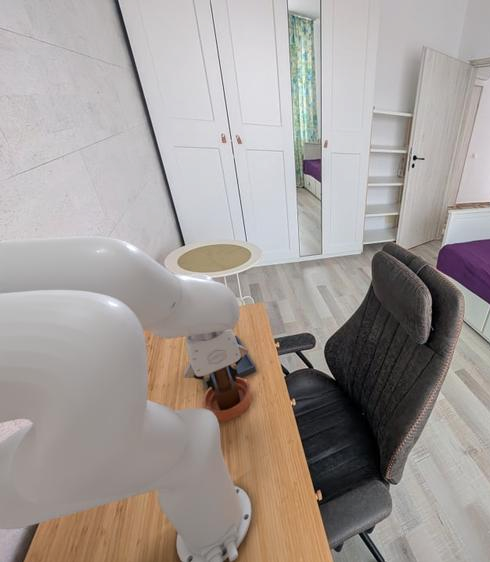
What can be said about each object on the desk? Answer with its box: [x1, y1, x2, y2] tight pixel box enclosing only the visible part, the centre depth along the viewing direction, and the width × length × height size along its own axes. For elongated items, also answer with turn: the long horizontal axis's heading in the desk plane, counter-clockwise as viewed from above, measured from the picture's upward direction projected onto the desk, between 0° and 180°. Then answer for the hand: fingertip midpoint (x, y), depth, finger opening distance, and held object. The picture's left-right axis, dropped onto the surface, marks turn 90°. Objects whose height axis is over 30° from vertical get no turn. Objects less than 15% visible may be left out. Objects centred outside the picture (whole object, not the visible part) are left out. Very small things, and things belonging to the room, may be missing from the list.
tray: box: [203, 335, 257, 391], centre depth 87 cm, size 17×13×3 cm
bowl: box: [202, 377, 253, 423], centre depth 76 cm, size 11×11×4 cm
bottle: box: [213, 367, 240, 411], centre depth 73 cm, size 5×5×14 cm
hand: (223, 381), depth 72 cm, fingers open, 4 cm apart
